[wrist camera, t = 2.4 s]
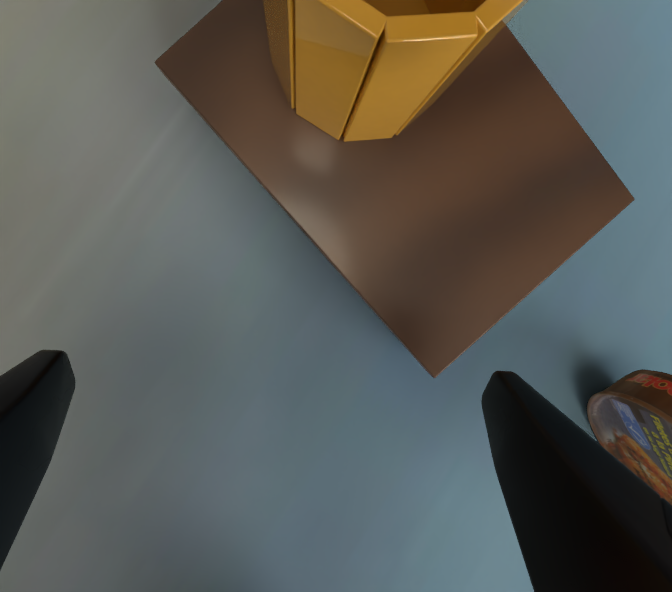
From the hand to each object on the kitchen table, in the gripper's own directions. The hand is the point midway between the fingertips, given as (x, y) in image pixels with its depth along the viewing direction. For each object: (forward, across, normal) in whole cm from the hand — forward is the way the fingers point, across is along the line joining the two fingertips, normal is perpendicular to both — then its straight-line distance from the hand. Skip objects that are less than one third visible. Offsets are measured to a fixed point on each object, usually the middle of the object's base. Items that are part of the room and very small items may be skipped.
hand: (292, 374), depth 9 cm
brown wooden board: (+14, -4, 0) cm, 15 cm away
